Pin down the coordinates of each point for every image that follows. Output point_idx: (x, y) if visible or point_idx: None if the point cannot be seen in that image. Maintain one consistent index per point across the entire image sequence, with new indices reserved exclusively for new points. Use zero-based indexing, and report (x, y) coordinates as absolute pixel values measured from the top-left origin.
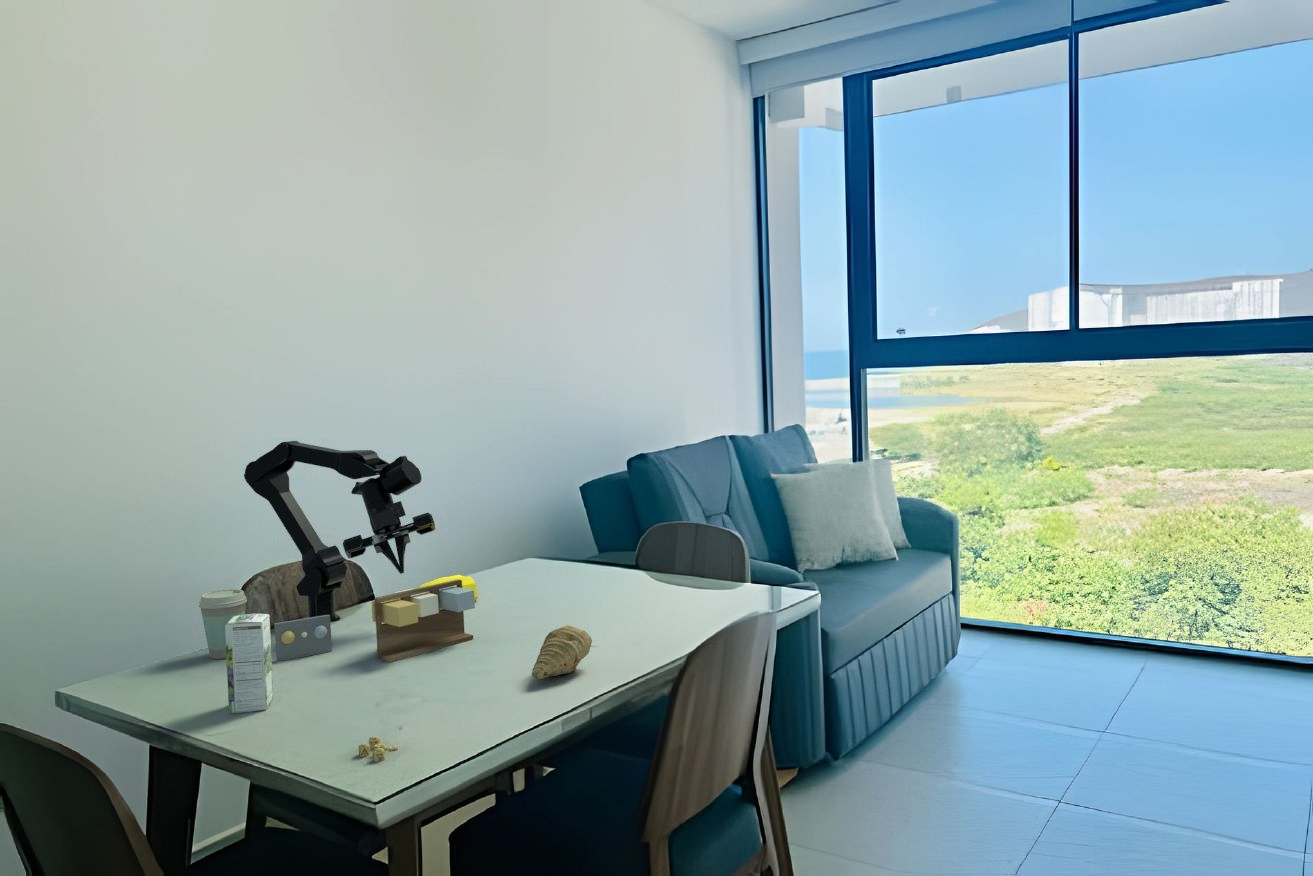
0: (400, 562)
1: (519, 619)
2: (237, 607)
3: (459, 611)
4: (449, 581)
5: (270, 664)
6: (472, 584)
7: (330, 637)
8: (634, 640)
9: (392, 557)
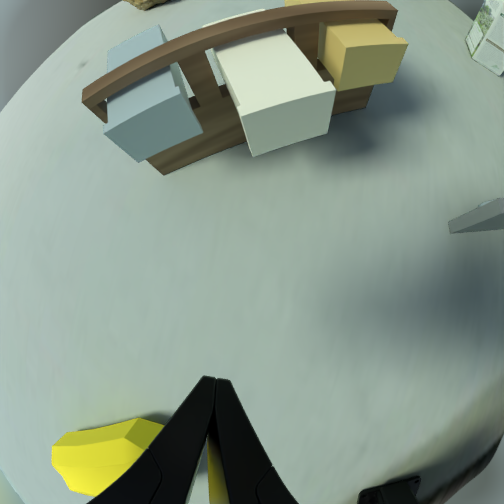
0: (198, 420)
1: (47, 244)
2: None
3: None
4: (114, 80)
5: (484, 27)
6: (56, 445)
7: (466, 214)
8: (50, 77)
9: (251, 473)
